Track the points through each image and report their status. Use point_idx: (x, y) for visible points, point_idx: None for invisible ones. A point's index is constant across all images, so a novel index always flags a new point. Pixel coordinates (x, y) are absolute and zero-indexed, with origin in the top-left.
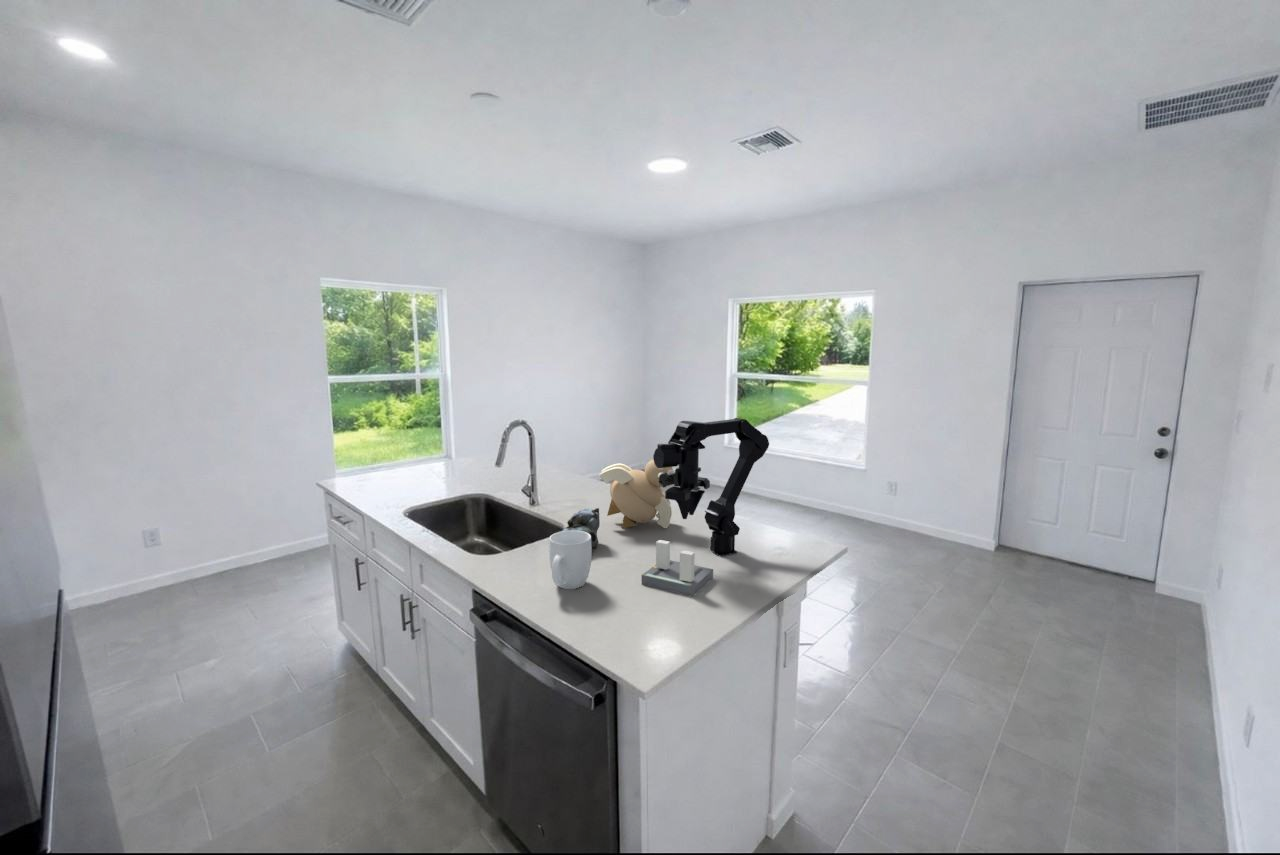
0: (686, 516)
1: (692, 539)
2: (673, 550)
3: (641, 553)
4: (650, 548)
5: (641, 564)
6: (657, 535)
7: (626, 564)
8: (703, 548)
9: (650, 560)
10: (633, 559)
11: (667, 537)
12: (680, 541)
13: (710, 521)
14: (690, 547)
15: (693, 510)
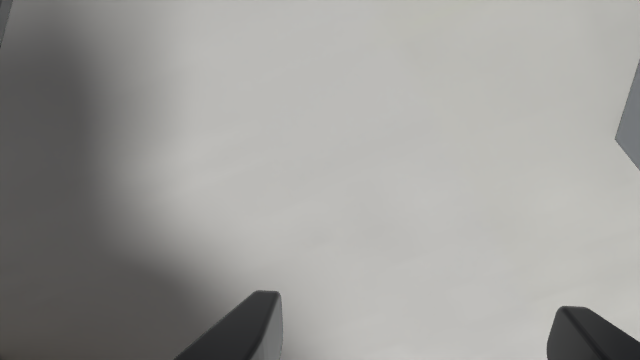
0: (636, 342)
1: (7, 172)
2: (276, 202)
3: (425, 329)
4: (323, 318)
5: (603, 271)
6: (112, 355)
7: (628, 333)
8: (102, 32)
9: (516, 253)
10: (536, 330)
11: (98, 306)
12: (100, 223)
13: (2, 6)
14: (151, 126)
15: (264, 351)
